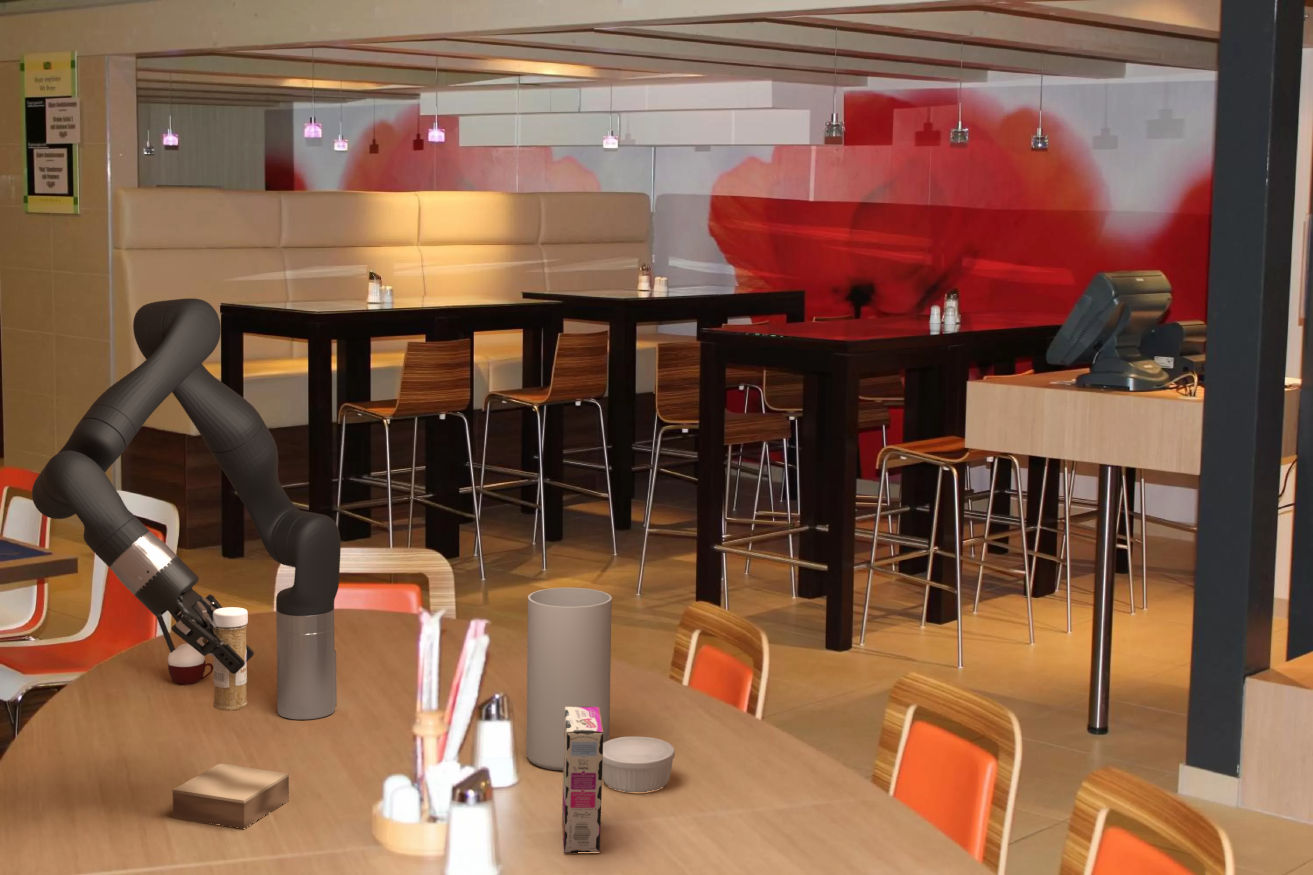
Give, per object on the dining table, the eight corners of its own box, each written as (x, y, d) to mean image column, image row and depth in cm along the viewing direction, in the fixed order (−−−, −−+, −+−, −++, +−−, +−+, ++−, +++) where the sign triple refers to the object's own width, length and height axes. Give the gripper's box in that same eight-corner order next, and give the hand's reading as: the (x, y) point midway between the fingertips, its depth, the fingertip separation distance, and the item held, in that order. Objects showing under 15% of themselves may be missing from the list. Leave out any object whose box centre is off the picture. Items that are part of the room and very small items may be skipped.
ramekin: (618, 802, 218) (618, 766, 217) (584, 776, 227) (585, 741, 227) (688, 790, 223) (689, 754, 222) (652, 765, 233) (653, 731, 232)
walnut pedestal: (220, 790, 219) (220, 763, 218) (289, 800, 215) (288, 773, 215) (173, 817, 208) (172, 789, 208) (244, 829, 205) (243, 800, 204)
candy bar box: (602, 854, 199) (604, 731, 197) (563, 855, 199) (565, 731, 196) (598, 821, 210) (600, 704, 208) (561, 822, 210) (563, 704, 207)
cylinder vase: (577, 778, 226) (580, 611, 223) (509, 761, 233) (511, 599, 229) (624, 754, 237) (627, 595, 233) (558, 739, 243) (560, 583, 240)
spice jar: (252, 709, 209) (252, 611, 208) (218, 713, 207) (218, 615, 205) (241, 700, 213) (241, 604, 212) (208, 704, 211) (208, 607, 209)
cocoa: (217, 682, 271) (220, 615, 269) (194, 690, 265) (197, 622, 263) (173, 673, 274) (176, 607, 273) (149, 681, 268) (152, 613, 267)
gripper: (158, 565, 200) (252, 659, 202) (188, 544, 214) (276, 632, 216) (117, 604, 201) (211, 697, 202) (150, 580, 215) (237, 668, 217)
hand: (244, 663), depth 209 cm, fingers closed on spice jar, 4 cm apart
